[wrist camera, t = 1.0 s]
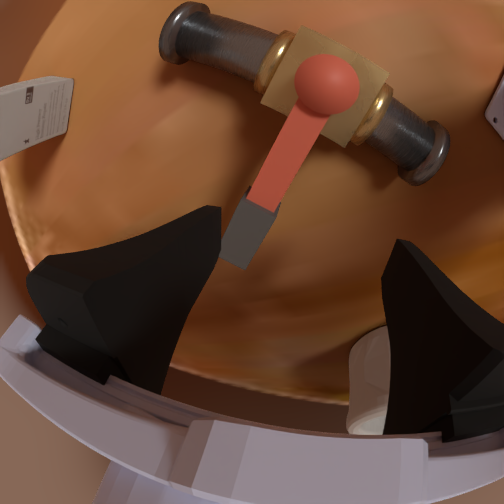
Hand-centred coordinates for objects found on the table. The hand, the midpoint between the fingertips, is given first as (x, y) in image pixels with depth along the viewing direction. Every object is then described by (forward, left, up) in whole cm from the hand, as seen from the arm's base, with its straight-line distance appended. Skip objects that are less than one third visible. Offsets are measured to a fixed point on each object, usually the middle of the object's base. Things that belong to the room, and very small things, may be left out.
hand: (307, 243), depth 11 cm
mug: (-19, +11, -10) cm, 24 cm away
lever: (+2, -1, -5) cm, 6 cm away
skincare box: (+25, +3, -10) cm, 27 cm away
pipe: (+3, -6, -10) cm, 12 cm away
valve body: (+2, -6, -10) cm, 12 cm away
